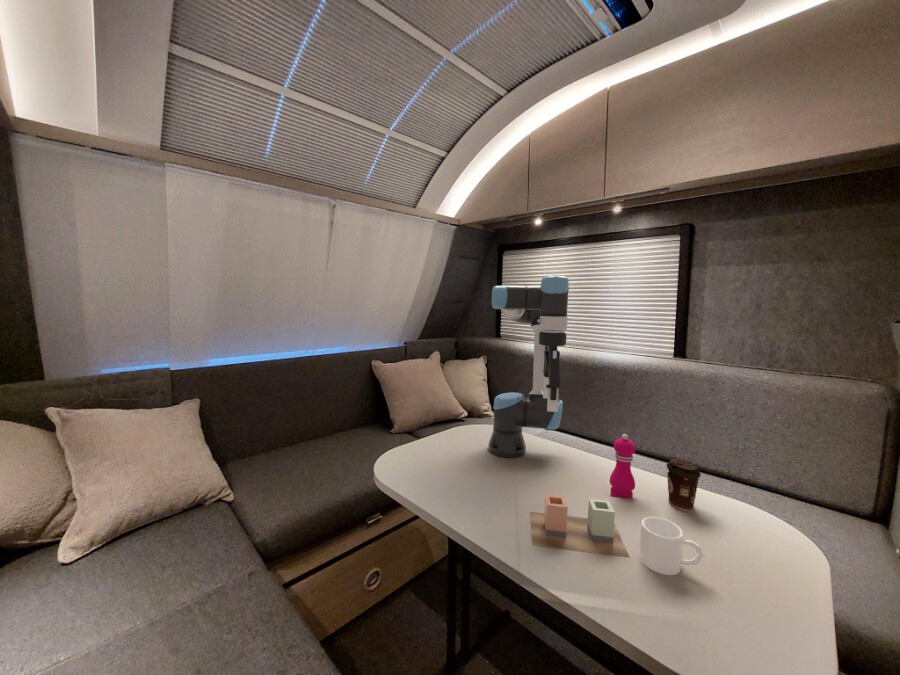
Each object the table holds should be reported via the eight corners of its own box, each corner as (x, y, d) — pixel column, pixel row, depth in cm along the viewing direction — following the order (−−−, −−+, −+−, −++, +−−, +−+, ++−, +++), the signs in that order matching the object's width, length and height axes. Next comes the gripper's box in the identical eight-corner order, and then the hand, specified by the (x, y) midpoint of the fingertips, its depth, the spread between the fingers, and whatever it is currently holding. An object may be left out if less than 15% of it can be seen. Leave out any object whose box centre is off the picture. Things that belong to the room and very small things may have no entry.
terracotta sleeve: (543, 523, 94) (545, 494, 93) (563, 525, 93) (564, 496, 92) (545, 535, 89) (546, 505, 88) (566, 537, 88) (567, 507, 87)
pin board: (529, 516, 99) (530, 491, 98) (612, 526, 95) (614, 499, 95) (532, 550, 85) (533, 521, 85) (629, 563, 82) (631, 532, 81)
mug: (700, 597, 72) (704, 552, 72) (635, 569, 80) (638, 528, 79) (703, 574, 79) (706, 532, 78) (642, 550, 86) (645, 512, 85)
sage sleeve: (587, 528, 92) (588, 498, 91) (607, 530, 91) (609, 500, 91) (591, 540, 87) (593, 509, 86) (613, 543, 86) (614, 512, 86)
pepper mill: (637, 503, 107) (641, 439, 105) (611, 500, 108) (615, 437, 106) (630, 491, 114) (634, 431, 112) (606, 488, 115) (609, 429, 113)
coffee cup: (660, 504, 106) (663, 463, 105) (666, 494, 112) (669, 454, 111) (695, 517, 100) (698, 473, 99) (699, 505, 106) (703, 463, 105)
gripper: (536, 328, 113) (533, 393, 115) (542, 334, 89) (539, 416, 91) (560, 328, 112) (557, 394, 114) (573, 335, 87) (570, 418, 89)
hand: (549, 404), depth 102 cm, fingers open, 13 cm apart
